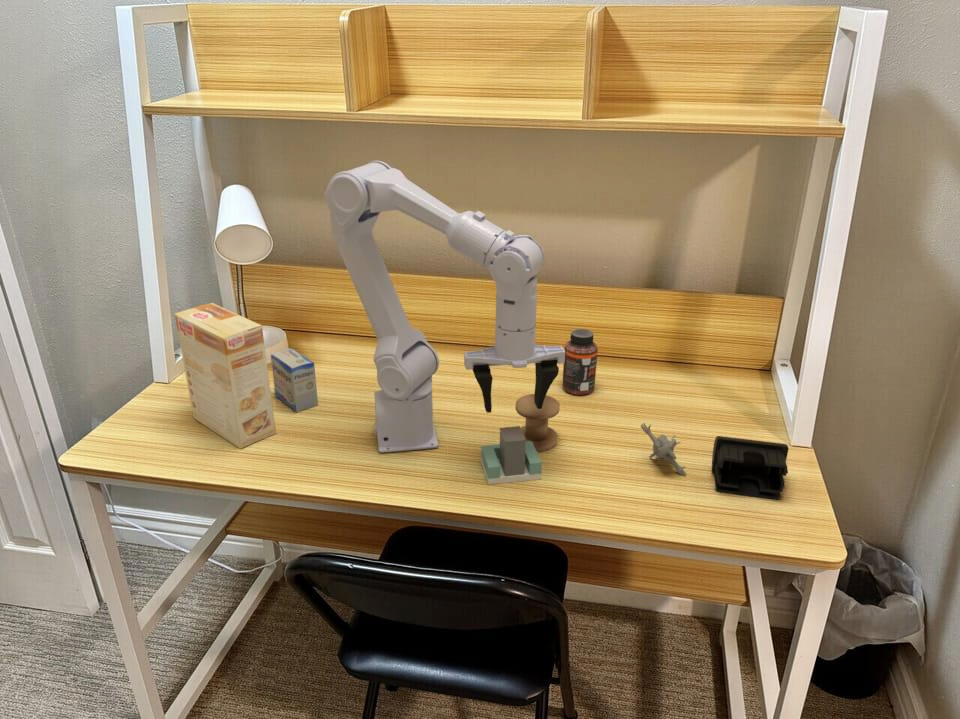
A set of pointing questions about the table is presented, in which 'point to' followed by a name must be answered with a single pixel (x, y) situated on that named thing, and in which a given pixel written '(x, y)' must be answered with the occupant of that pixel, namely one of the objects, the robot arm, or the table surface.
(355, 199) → the robot arm
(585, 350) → the supplement bottle
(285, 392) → the medicine box
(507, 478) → the notch board
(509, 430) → the plug
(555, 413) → the bobbin
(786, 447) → the end cap
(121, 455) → the table surface
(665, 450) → the grey animal figure
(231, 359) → the coffeecake box
